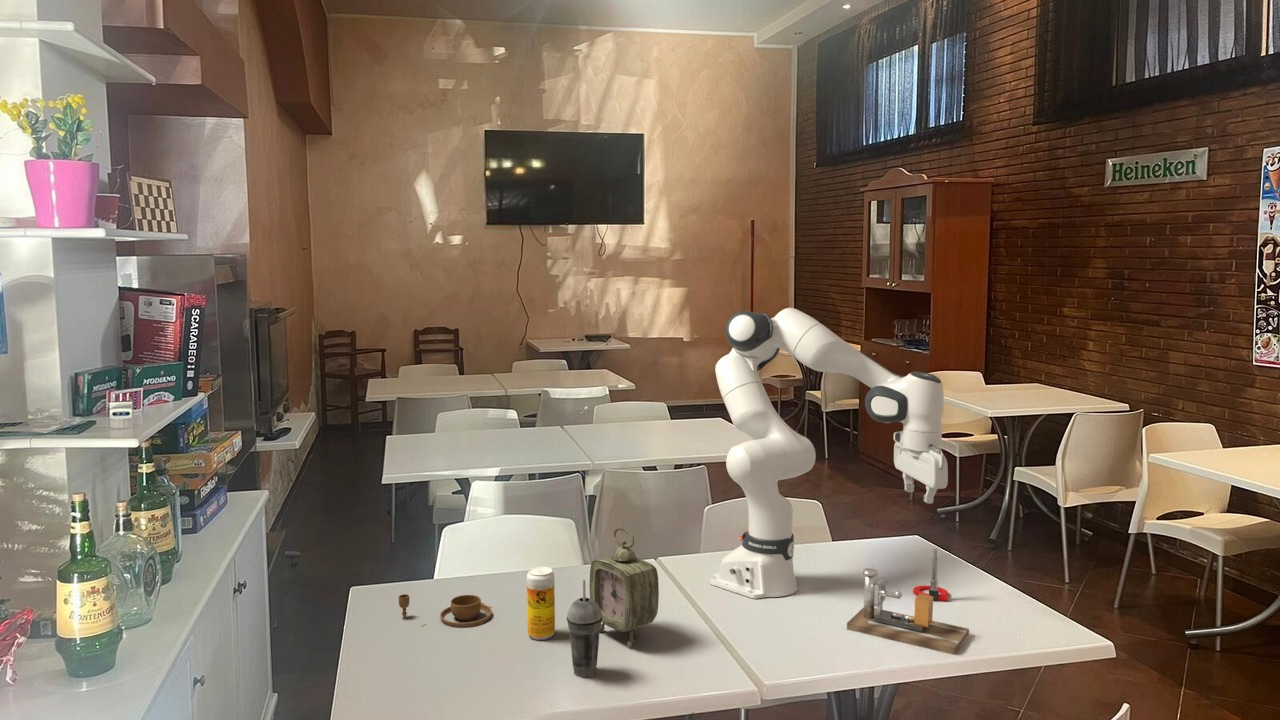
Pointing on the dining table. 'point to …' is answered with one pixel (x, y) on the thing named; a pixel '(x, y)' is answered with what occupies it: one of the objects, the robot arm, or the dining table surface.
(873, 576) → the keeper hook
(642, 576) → the tabletop clock
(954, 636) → the board
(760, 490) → the robot arm
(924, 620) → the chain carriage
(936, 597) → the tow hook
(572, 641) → the beverage cup
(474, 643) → the dining table surface
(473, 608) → the place setting
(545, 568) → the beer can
